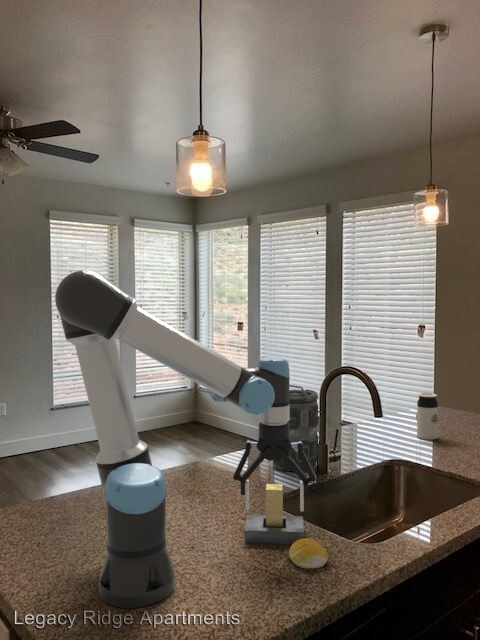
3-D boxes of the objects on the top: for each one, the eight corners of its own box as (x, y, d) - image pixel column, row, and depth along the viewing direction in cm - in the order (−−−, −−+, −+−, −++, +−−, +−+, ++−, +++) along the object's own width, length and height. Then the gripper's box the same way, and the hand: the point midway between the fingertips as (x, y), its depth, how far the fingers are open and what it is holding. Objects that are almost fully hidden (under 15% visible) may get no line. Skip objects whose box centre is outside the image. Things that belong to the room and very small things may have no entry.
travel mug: (413, 436, 222) (413, 393, 221) (429, 434, 224) (429, 392, 224) (425, 440, 215) (425, 396, 214) (441, 439, 217) (442, 395, 216)
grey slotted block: (304, 544, 125) (304, 532, 125) (244, 542, 126) (244, 530, 126) (302, 528, 134) (302, 516, 134) (247, 526, 135) (247, 514, 135)
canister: (263, 465, 184) (262, 385, 183) (294, 456, 195) (293, 380, 194) (296, 476, 172) (296, 391, 171) (328, 466, 183) (327, 385, 182)
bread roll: (317, 548, 123) (317, 531, 123) (332, 567, 114) (332, 549, 114) (283, 552, 121) (283, 535, 121) (295, 571, 113) (295, 553, 113)
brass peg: (282, 539, 128) (282, 490, 127) (266, 538, 128) (265, 489, 127) (282, 532, 132) (282, 484, 131) (266, 531, 132) (266, 483, 131)
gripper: (324, 418, 131) (324, 503, 132) (225, 417, 133) (225, 501, 134) (326, 426, 124) (326, 516, 125) (221, 424, 126) (222, 513, 127)
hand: (274, 508), depth 129 cm, fingers open, 13 cm apart
